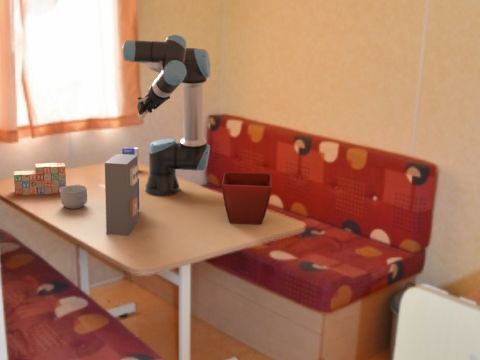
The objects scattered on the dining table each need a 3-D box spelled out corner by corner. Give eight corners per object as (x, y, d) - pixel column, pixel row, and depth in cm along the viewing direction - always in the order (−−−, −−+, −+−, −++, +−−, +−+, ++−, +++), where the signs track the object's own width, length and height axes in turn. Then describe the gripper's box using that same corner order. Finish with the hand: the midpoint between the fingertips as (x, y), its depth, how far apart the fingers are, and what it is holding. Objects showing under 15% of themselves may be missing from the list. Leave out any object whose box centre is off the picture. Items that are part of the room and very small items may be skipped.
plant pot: (223, 210, 266) (224, 171, 262) (269, 212, 266) (271, 173, 261) (220, 226, 248) (221, 184, 243) (269, 228, 248) (271, 186, 243)
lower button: (138, 211, 243) (137, 196, 241) (133, 216, 237) (133, 201, 235) (117, 210, 244) (116, 195, 242) (112, 215, 238) (111, 199, 236)
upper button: (137, 181, 239) (137, 165, 238) (133, 185, 234) (133, 169, 232) (116, 179, 240) (116, 164, 239) (111, 184, 235) (111, 168, 233)
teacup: (80, 212, 258) (79, 193, 256) (55, 209, 260) (54, 190, 258) (94, 201, 271) (94, 183, 269) (71, 199, 273) (70, 181, 271)
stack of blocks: (14, 195, 276) (13, 168, 272) (15, 191, 281) (13, 164, 278) (66, 192, 282) (65, 165, 279) (65, 188, 288) (64, 162, 284)
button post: (138, 222, 248) (137, 155, 241) (127, 235, 235) (126, 164, 227) (118, 221, 249) (116, 153, 242) (106, 233, 236) (104, 162, 228)
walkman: (122, 171, 317) (122, 148, 314) (122, 170, 320) (122, 147, 317) (138, 171, 319) (138, 148, 316) (138, 170, 322) (138, 146, 318)
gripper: (149, 101, 227) (128, 127, 247) (180, 95, 234) (158, 121, 254) (141, 82, 228) (121, 110, 248) (173, 77, 236) (151, 104, 255)
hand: (140, 115), depth 251 cm, fingers closed
